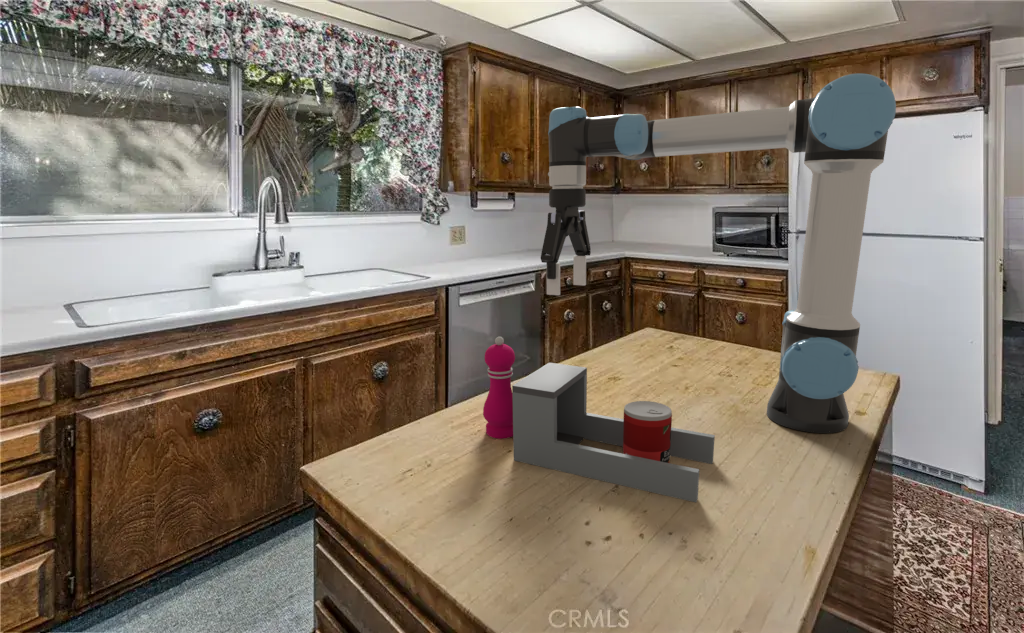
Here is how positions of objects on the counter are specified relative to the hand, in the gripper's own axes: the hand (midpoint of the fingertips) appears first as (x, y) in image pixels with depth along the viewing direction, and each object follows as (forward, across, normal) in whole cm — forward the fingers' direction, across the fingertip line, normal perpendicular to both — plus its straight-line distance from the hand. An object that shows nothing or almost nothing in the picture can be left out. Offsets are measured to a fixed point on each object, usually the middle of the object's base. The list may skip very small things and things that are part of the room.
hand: (567, 289), depth 121 cm
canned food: (+27, +19, +24) cm, 41 cm away
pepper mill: (+27, +18, -6) cm, 33 cm away
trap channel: (+27, +19, +19) cm, 38 cm away
